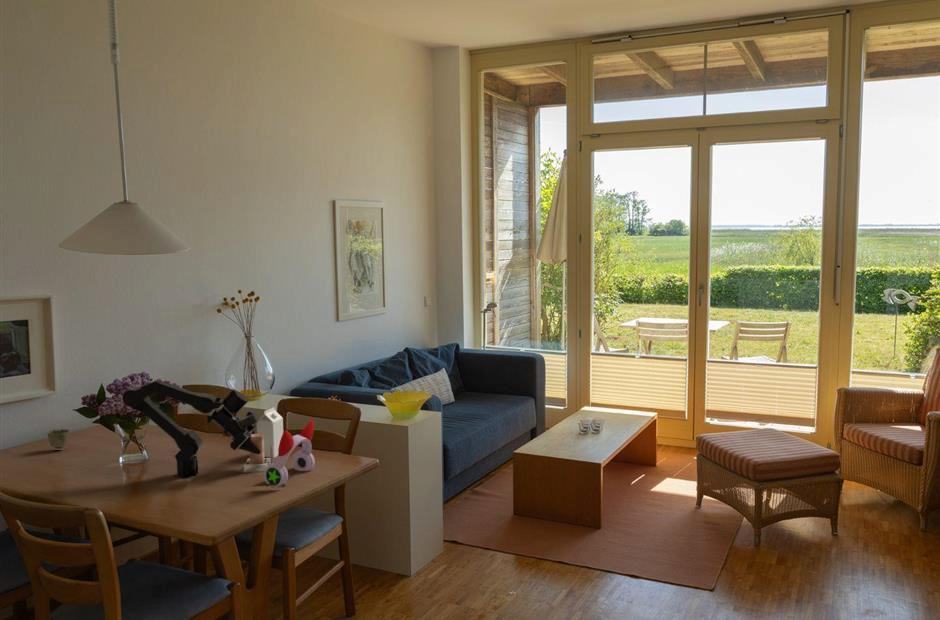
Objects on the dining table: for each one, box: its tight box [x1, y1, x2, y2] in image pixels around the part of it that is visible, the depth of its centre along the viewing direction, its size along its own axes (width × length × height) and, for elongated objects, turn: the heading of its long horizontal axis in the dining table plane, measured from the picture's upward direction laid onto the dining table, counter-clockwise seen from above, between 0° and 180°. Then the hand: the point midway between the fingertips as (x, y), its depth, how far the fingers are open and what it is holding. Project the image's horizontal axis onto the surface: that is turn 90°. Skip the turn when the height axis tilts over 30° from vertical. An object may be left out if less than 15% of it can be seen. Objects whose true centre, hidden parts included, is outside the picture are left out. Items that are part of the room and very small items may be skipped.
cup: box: [47, 428, 69, 450], centre depth 307 cm, size 8×7×8 cm
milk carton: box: [256, 406, 284, 458], centre depth 293 cm, size 7×7×19 cm
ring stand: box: [232, 446, 275, 476], centre depth 275 cm, size 12×12×10 cm
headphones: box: [263, 419, 316, 488], centre depth 266 cm, size 20×10×20 cm, turn 159°
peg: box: [249, 433, 266, 464], centre depth 275 cm, size 4×4×12 cm
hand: (260, 451), depth 275 cm, fingers closed on peg, 4 cm apart
